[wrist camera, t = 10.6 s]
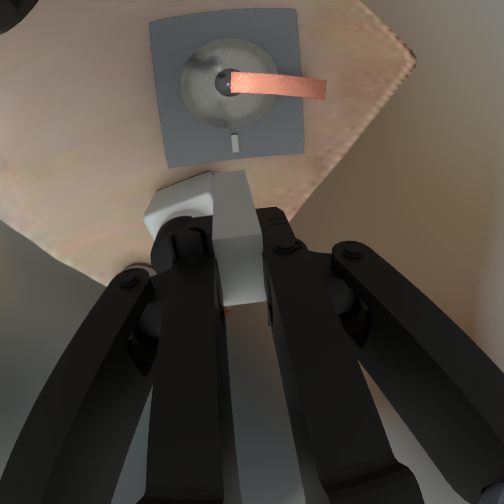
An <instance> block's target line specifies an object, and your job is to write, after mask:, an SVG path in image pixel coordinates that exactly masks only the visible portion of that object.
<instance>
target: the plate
mask: <svg viewBox="0 0 504 504" xmlns="http://www.w3.org/2000/svg"><path fill="white" fill-rule="evenodd" d="M149 26H150V38H151V49H152V59H153V68H154V77H155V85H156V93H157V100H158V107H159V114H160V121H161V128H162V134H163V140H164V146H165V152H166V158H167V163H168V168H173V167H180V166H186V165H193V164H200V163H207V162H215V161H223V160H231V159H240V158H250V157H261V156H272V155H286V154H302V153H304V127H303V101H302V97H298V96H288V95H277V97H276V99H275V101H274V103H273V105H272V107H271V108H270V109H269V111H268V112H267V113H266V114H265V115H264V116H263V117H261V118H260V119H259V120H257V121H255V122H254V123H252V124H249V125H247V126H244V127H240V128H232V129H225V128H218V127H214V126H210V125H208V124H206V123H204V122H202V121H201V120H199V119H198V118H196V117H195V116H194V115H193V114H192V113H191V112H190V111H189V109H188V108H187V106H186V104H185V103H184V100H183V98H182V94H181V88H180V81H181V75H182V71H183V68H184V66H185V64H186V62H187V61H188V59H189V58H190V57H191V55H192V54H193V53H194V52H195V51H197V50H198V49H199V48H200V47H202V46H204V45H205V44H207V43H209V42H212V41H215V40H218V39H224V38H238V39H243V40H247V41H250V42H252V43H254V44H256V45H258V46H259V47H261V48H262V49H263V50H264V51H266V52H267V53H268V55H269V56H270V57H271V58H272V60H273V62H274V63H275V66H276V68H277V71H278V75H287V76H296V77H301V64H300V50H299V37H298V26H297V15H296V9H288V8H254V9H234V10H222V11H212V12H204V13H197V14H190V15H184V16H178V17H172V18H167V19H162V20H158V21H153V22H149Z"/></svg>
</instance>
